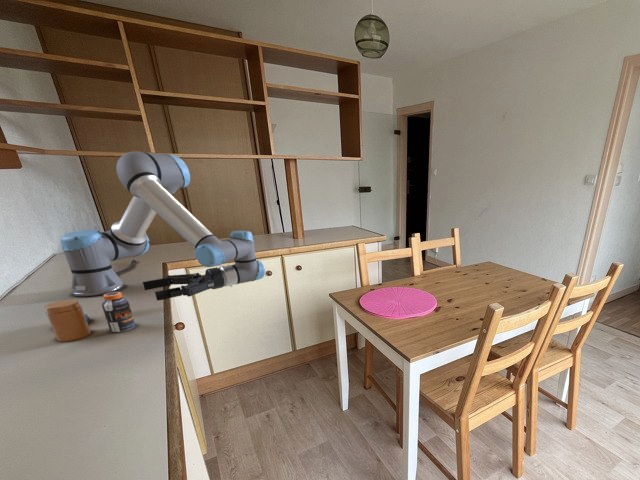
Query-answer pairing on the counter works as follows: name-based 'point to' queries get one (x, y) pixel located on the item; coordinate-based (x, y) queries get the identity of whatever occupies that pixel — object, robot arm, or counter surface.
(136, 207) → the robot arm
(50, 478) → the counter surface
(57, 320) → the jar
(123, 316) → the pill bottle
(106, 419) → the counter surface
